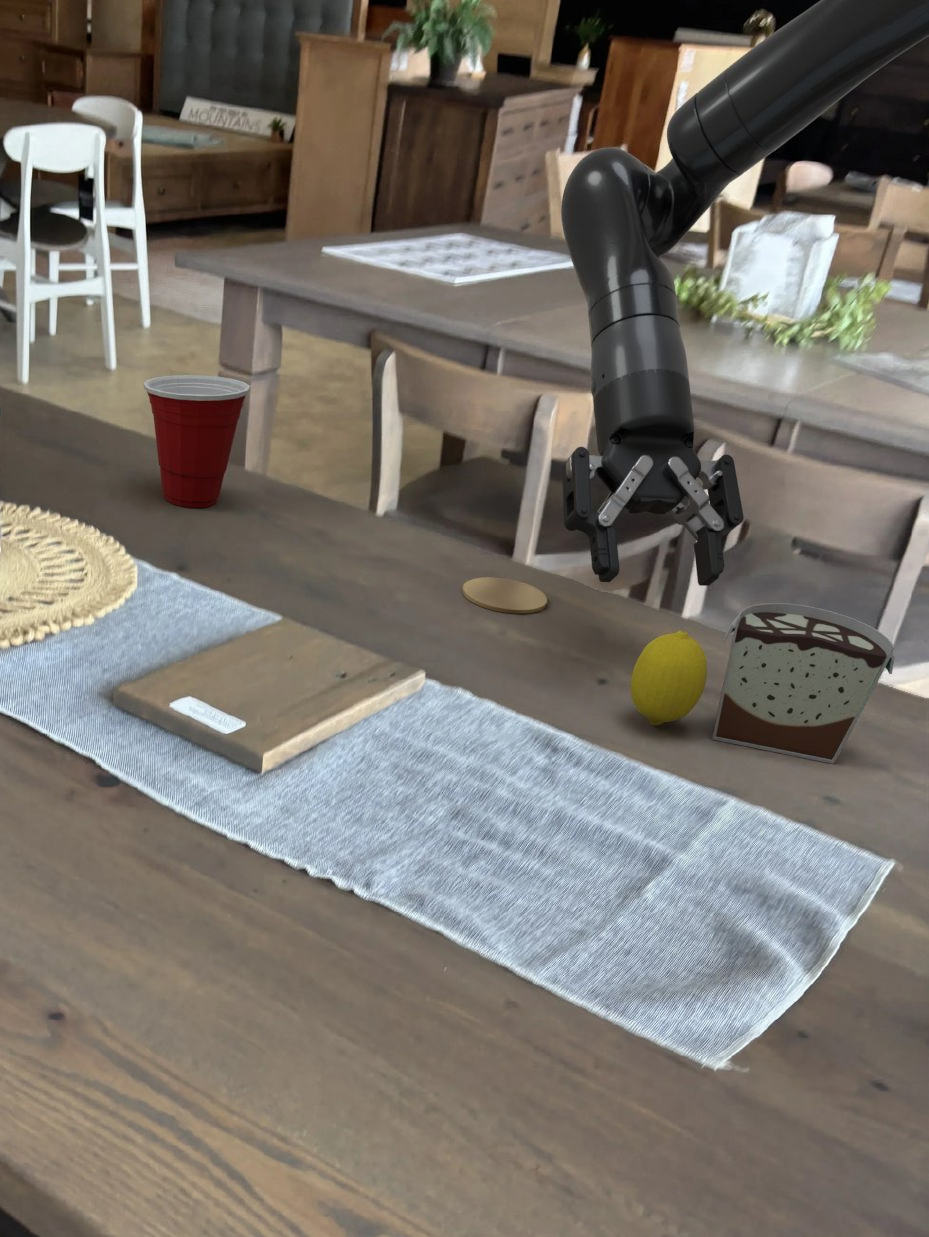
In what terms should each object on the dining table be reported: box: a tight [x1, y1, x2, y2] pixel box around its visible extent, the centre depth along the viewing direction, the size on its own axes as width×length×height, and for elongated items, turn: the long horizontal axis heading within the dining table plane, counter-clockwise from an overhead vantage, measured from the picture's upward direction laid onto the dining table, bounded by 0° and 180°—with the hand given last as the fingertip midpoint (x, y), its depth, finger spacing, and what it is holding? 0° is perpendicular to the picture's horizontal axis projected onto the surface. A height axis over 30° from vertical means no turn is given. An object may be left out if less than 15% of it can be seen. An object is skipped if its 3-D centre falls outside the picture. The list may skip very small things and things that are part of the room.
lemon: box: [630, 630, 708, 727], centre depth 105 cm, size 6×6×8 cm
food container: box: [711, 602, 896, 765], centre depth 105 cm, size 12×6×10 cm, turn 74°
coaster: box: [461, 576, 548, 615], centre depth 127 cm, size 8×8×1 cm
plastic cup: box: [142, 374, 251, 509], centre depth 139 cm, size 11×11×12 cm
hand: (660, 580), depth 106 cm, fingers open, 8 cm apart
